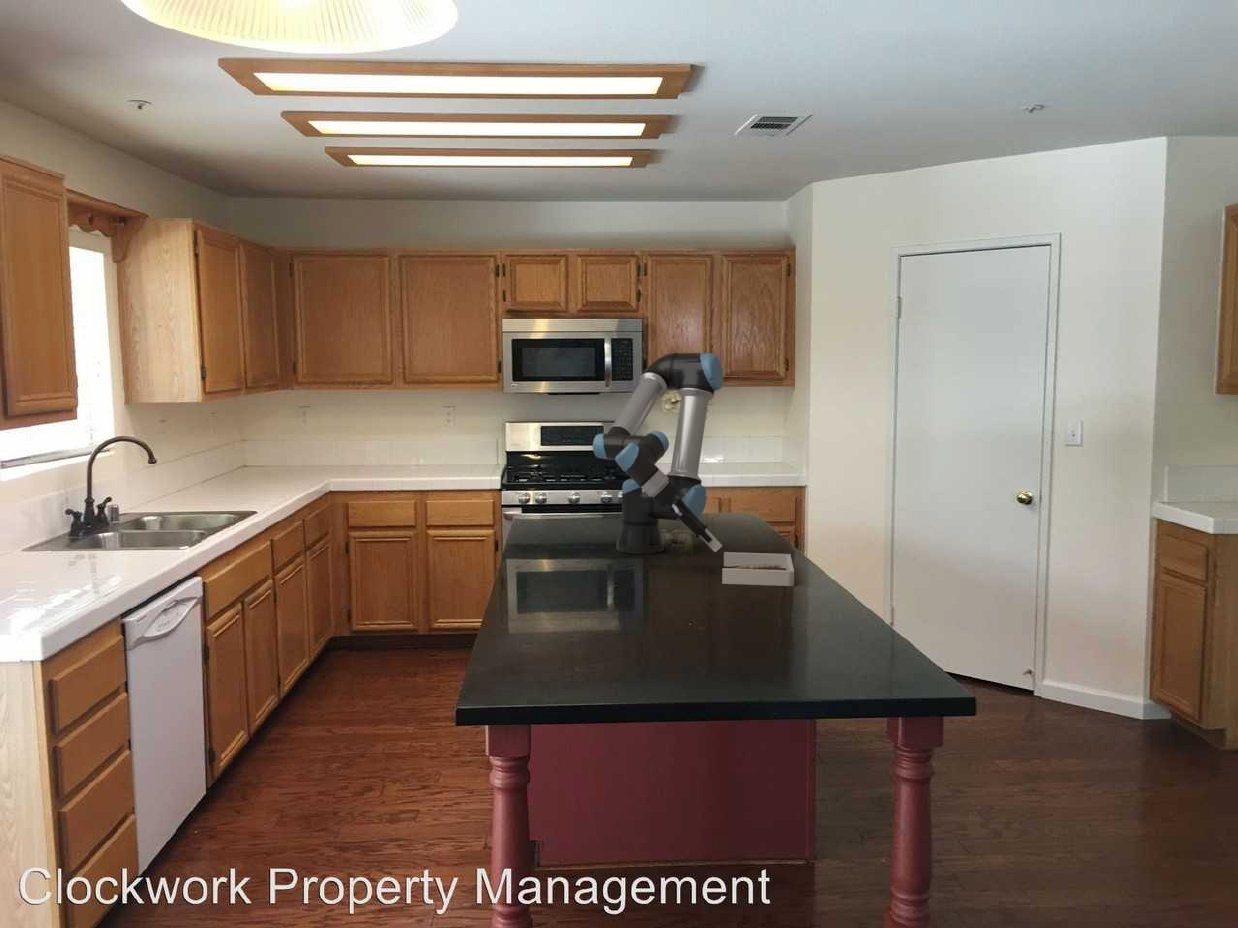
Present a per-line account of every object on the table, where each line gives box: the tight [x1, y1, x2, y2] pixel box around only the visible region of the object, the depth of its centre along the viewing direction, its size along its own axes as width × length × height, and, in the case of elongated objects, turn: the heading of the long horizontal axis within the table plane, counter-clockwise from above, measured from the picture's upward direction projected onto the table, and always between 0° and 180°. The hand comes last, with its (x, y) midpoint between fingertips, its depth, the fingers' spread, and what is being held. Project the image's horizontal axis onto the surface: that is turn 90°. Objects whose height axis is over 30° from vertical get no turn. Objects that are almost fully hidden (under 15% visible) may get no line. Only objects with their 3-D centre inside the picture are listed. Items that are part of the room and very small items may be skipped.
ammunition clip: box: [727, 564, 781, 570], centre depth 257 cm, size 11×2×12 cm
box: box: [721, 551, 795, 587], centre depth 261 cm, size 22×19×4 cm
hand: (718, 548), depth 261 cm, fingers closed
